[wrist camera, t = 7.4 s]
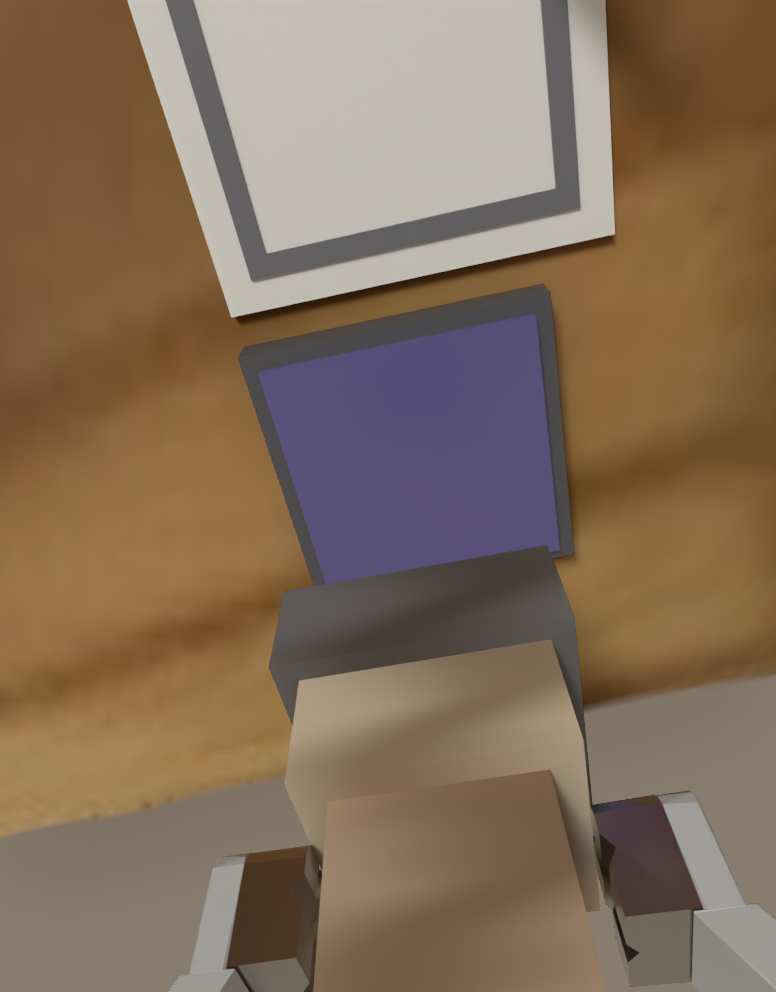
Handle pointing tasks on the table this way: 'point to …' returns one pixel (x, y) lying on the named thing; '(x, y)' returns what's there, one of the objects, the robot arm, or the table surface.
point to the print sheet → (382, 135)
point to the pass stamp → (443, 777)
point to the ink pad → (418, 435)
